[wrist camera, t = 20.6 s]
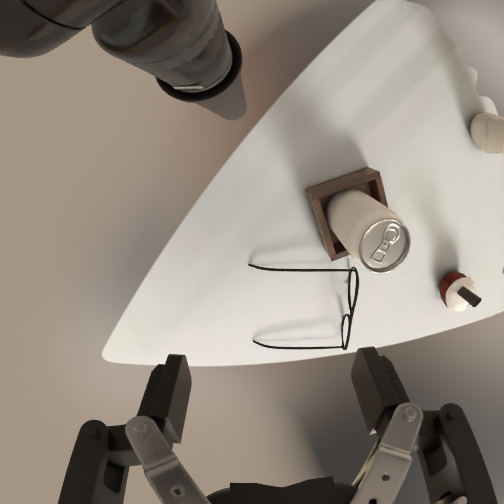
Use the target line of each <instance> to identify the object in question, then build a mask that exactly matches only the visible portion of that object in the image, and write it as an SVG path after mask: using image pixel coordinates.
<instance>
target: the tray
mask: <svg viewBox="0 0 504 504" xmlns="http://www.w3.org/2000/svg"><path fill="white" fill-rule="evenodd" d="M348 188H353V189H357V190H360V191H362V192H363V193H365V194H367V195H368V196H370V197H372V198H373V199H375V200H377V201H378V202H380V203H381V204H383V205H384V206H386V207H387V208H388V205H387V201H386V196H385V192H384V188H383V184H382V180H381V176H380V172H379V171H377V170H374V169H371V168H369V167H368V168H365V169H362V170H359V171H356V172H353V173H350V174H347V175H344V176H341V177H338V178H335V179H332V180H329V181H327V182H324V183H321V184H318V185H315V186H312V187H310V188H307V189H305V190H306V193H307V195H308V198H309V201H310V204H311V207H312V210H313V213H314V216H315V219H316V222H317V225H318V228H319V231H320V235H321V238H322V241H323V244H324V247H325V250H326V252H327V254H328V256H329V257H330V259H331V261H334V260H337V259H339V258H342V257H345V256H347V255H350V253H349V252H348V251H347V249H346V248H345V247H344V245H343V244H342V243H341V241H340V240H339V239H338V237H337V236H336V235H335V233H334V232H333V230H332V229H331V228H330V226H329V224H328V222H327V219H326V207H327V204H328V202H329V200H330V199H331V197H332V196H333V195H334V194H335V193H337V192H340V191H343V190H346V189H348Z"/></svg>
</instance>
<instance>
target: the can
mask: <svg viewBox="0 0 504 504" xmlns="http://www.w3.org/2000/svg"><path fill="white" fill-rule="evenodd" d="M326 219H327V222H328V224H329V226H330V228H331V229H332V230H333V232H334V233H335V235H336V236H337V237H338V239H339V240H340V241H341V243H342V244H343V245H344V247H345V248H346V249H347V251H348V252H349V253H350V255H351V256H352V257H353V259H354V260H355V261H356V262H357V263H358V264H359V265H360V266H362V267H363V268H366V269H368V270H369V271H371V272H374V273H387V272H390V271H392V270H394V269H395V268H397V267H398V266H399V265H400V264H401V263H402V262H403V261H404V259H405V258H406V256H407V254H408V252H409V248H410V234H409V231H408V229H407V228H406V226H405V224H404V222H403V221H402V219H401V218H400V217H399V216H398V215H397V214H396V213H395V212H393V211H392V210H390V209H389V208H387V207H386V206H384V205H383V204H381V203H380V202H378V201H377V200H375V199H373V198H372V197H370V196H368V195H367V194H365V193H363V192H362V191H360V190H357V189H353V188H348V189H346V190H343V191H340V192H337V193H335V194H334V195H333V196H332V197H331V199H330V200H329V202H328V204H327V207H326Z"/></svg>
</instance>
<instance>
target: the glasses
mask: <svg viewBox="0 0 504 504" xmlns="http://www.w3.org/2000/svg"><path fill="white" fill-rule="evenodd" d="M249 266H251V267H254V268H257V269H261V270H268V271H300V272H313V271H350V273H349V281H348V303H349V309H350V315H349V314H345V315H344V318H343V321H342V328H341V335H342V346H337V347H276V346H268V345H264V344H261V343H259V342H256V341H253V342H254V343H256V344H258V345H261V346H263V347H267V348H274V349H330V348H343V350H346V349H347V347H348V343H349V338H350V331H351V324H352V318H353V313H354V308H355V305H356V301H357V296H358V289H359V276H358V272H357V269H356V268H355V267H352V268H351V269H275V268H264V267H259V266H255V265H251V264H249ZM353 268H354V269H353ZM352 269H353V270H352ZM352 271H354V272H355V273H356V288H355V297H354V302H353V306H352V307H351V297H350V281H351V272H352ZM346 315H347V316H348V322H349V326H348V335H347V340H346V344H345V347H344V342H343V325H344V320H345V317H346Z"/></svg>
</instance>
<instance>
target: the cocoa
mask: <svg viewBox="0 0 504 504" xmlns="http://www.w3.org/2000/svg"><path fill="white" fill-rule="evenodd" d="M440 295H441V298H442V300H443V302H444V304H445V305H446V306H447V307H448V310H450V311H454V312H461V311H463V310H464V309H465V308H466V307H467V306H468V305H469V304H470V305H472V306H473V307H476V306H477V305H478V304H479V303H480V302H481V298H480V297H478V296H477V295H476V289H475V287H474V284H473V280H472V279H471V278H470V277H467V276H465V275H464V274H462V273H459V272H452V273H450V274H448V275H447V276H446V277H445V278H444V279H443V281H442V283H441V286H440Z"/></svg>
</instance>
